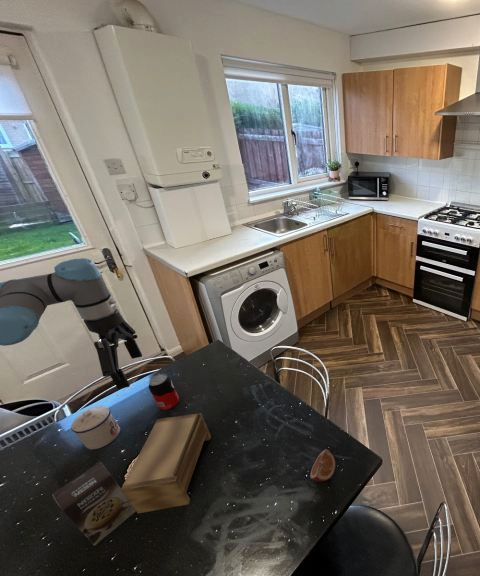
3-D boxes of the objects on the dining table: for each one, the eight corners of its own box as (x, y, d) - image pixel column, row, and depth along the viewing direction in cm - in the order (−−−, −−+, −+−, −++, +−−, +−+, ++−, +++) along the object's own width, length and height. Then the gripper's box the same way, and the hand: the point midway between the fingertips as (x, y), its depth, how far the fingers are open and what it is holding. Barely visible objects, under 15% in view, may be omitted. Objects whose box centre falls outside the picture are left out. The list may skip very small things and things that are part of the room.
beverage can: (173, 411, 106) (161, 386, 100) (154, 411, 106) (141, 386, 100) (183, 397, 112) (173, 372, 106) (166, 396, 112) (154, 372, 106)
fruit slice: (318, 456, 93) (316, 446, 90) (339, 460, 92) (338, 450, 89) (306, 485, 86) (304, 474, 83) (330, 490, 85) (328, 479, 82)
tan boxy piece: (137, 513, 79) (118, 487, 73) (169, 442, 96) (156, 416, 90) (188, 504, 81) (173, 477, 75) (211, 436, 98) (200, 410, 92)
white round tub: (123, 438, 97) (107, 413, 92) (85, 456, 92) (66, 431, 86) (118, 414, 105) (103, 389, 100) (83, 430, 100) (65, 405, 94)
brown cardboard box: (94, 547, 73) (60, 511, 65) (83, 530, 76) (49, 494, 68) (137, 510, 80) (111, 474, 72) (126, 496, 83) (99, 460, 75)
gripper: (100, 337, 76) (134, 397, 86) (130, 290, 96) (154, 343, 106) (61, 344, 73) (100, 405, 84) (100, 294, 93) (128, 349, 104)
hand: (131, 371), depth 95 cm, fingers open, 13 cm apart
